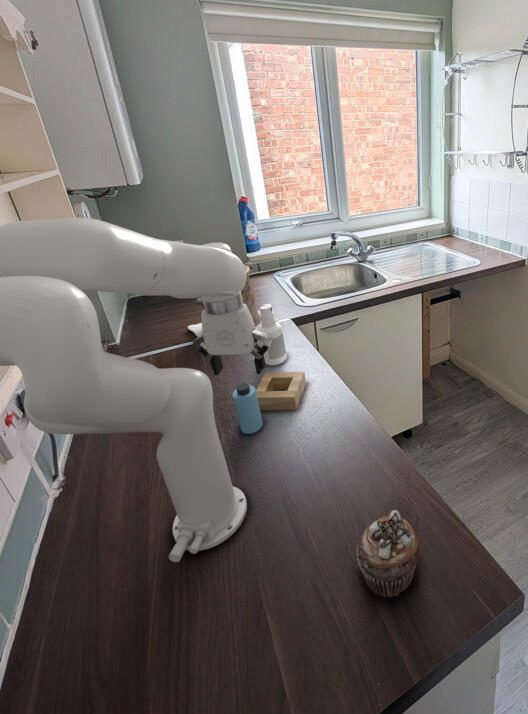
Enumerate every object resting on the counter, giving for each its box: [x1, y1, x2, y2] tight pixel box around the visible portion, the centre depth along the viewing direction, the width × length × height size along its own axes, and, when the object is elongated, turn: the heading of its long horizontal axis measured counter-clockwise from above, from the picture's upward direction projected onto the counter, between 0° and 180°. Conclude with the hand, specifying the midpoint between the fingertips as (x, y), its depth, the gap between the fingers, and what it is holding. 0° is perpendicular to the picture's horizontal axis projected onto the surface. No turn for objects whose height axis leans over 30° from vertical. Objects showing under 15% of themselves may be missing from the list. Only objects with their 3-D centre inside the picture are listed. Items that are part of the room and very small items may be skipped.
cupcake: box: [355, 509, 420, 598], centre depth 61 cm, size 10×10×10 cm
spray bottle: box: [258, 303, 288, 366], centre depth 119 cm, size 7×7×18 cm
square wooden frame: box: [255, 371, 307, 411], centre depth 105 cm, size 11×11×4 cm
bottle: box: [232, 382, 264, 435], centre depth 94 cm, size 5×5×12 cm
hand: (239, 371), depth 90 cm, fingers open, 9 cm apart
